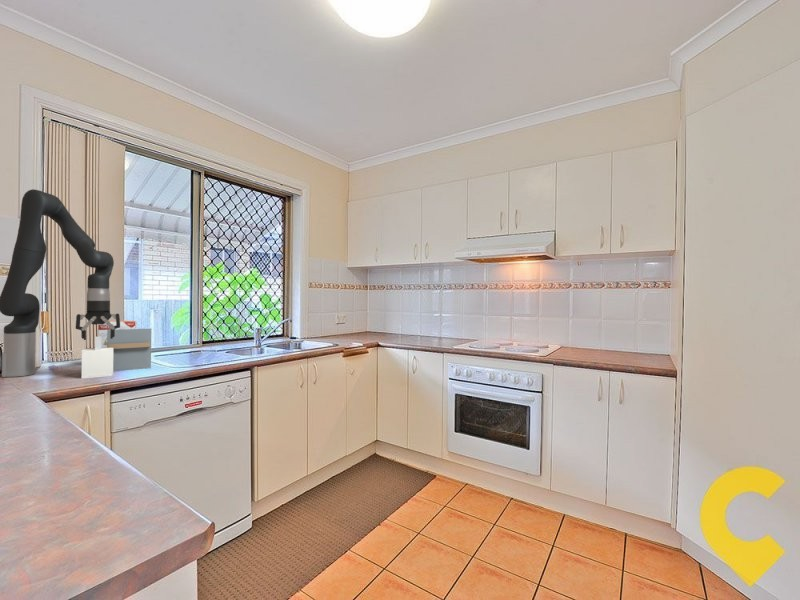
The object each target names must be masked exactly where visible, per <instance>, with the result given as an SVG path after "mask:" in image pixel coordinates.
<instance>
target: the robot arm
mask: <svg viewBox="0 0 800 600" xmlns="http://www.w3.org/2000/svg"><path fill="white" fill-rule="evenodd" d="M20 204H21V205H20V216H19V224H18V225H19V226H18V230H17V234H16V235H17V236H16V240H15V243H14V247H13V250H12V251H13V252H12V255H11V256H12V257H11V262H10V266H9V268H8V269H9V270H8V273H7V277H6V280H5V283H4V284H3V285H4V286H3V288H2V290H1V293H0V313H1V314H2V315H4V316H6V317H13V319H12V321H10V322H9V323H8V324H5V325H4V327H3V352H2V353H1V378H13V377H14V378H15V377H23V376H24V377H26V376H31V375H32V376H33V375H35V374H36V353H37V351H36V347H37V346H36V339H37V338H36V335H37V334H36V333H37V327H38V325H39V322H40V310H41V306H40V300H39V299H38V297H37V296H36V295H34V294H32V293H28V292H27V293H26V290H27V287H28V285H29V283H30V281H31V279H32V278H33V277H34V276H35V275H36V274H37V273H38V272H39V270H41V268H42V267H43V265H44V261H45V259H46V258H45V257H46V253H47V245H46V241H45V239H44V235H43V234H42V229H41V224H42V223H41V222H42V218H43V216H45V217H49V218H50V219H51V220H53V222H55V223H56V224H57V225H58V226H59V228H60V230H61V231H60V232H61V234H62V237H63V238H64V239H65V241H66V242H67V243H68V244H69V245H70V246H71V247H72V248H73V249H74V250H75V252H76V253H77V255H78V257H79V258H80V260H81V262H82V263H83V264H85V266H87V267H89V268H92V269H95V270H94V273H91V274H89V275H88V276H87V290H86V313H85V314H80V313H78V314H76V317H75V329H76V330H80V332H81V336H80V337H81V339H83V341H87V329H88V328H89V327H90V326H91V325H99V324H105V323H106V324H107V325H108V326H109V327H110V328H111V330H110V339H113V337H114V336H115V329H117V328H120V321H121V318H120V314H119V313H111V292H110V278H111V276H112V271H113V269H114V264H115V263H114V261H115V260H114V258H113V257H114V256H113V255H112V254H111V253H109V252H108V251H101V250H97V249H96V248H95V247H96V243H95V241H94V240H93V239H92V238H91V237H90V235H88V234H87V233H86V232H85V231H84V230H83V228H82V227H81V226H80V225H79V224H78V223H77V222H76V220H75V219H74V218H73V216H72V215H71V213H70V212H69V210H68V209H67V208H66V206H65V205H64V203H63V202H62V200H61V199H60V198H59V197H58V196H56V195H54V194H51V193H48V192H45V191H42V190H38V189H28V190H27V191H26V192H25V193H24V194H23V197H22V199H21V203H20ZM84 318H85V319H86V320H88V321H87V322H86V323H85V324H84V325H83V326H81V321H82V320H83V319H84ZM111 318H113V319H114V320H115V321H116V326H113V325H112V324H111V323H110V322H109V321H110V319H111Z"/></svg>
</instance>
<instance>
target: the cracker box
mask: <svg viewBox="0 0 800 600" xmlns="http://www.w3.org/2000/svg"><path fill="white" fill-rule="evenodd" d="M108 321H109V322H110V323H111V324H112V325H113V326H116V320H108ZM119 329H137V320H120V328H117V329H115V330H119ZM107 330H111V328H110V327H109V326H108V325H107V324H106V323H105V324H98V330H97V331H98V332H97V333H98V334H97V337H100V336H101V348H106V347H107Z"/></svg>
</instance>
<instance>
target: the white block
mask: <svg viewBox="0 0 800 600" xmlns="http://www.w3.org/2000/svg"><path fill="white" fill-rule="evenodd" d="M112 376H114V371H113V348H112V347H106V348H101V336H100V337H98V336H94V347H93V348H92V347H89V348H87V347H86V348H82V350H81V379H91V378H92V379H93V378H100V377H101V378H102V377H112Z"/></svg>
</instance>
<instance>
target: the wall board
mask: <svg viewBox="0 0 800 600" xmlns="http://www.w3.org/2000/svg"><path fill="white" fill-rule="evenodd" d="M107 347H112V348H113V372H119V371H129V370H131V371H132V370H140V369H141V370H143V368H145V369H151V368H152V328H136V329H119V330H115V336H114V337H113V339H110V330H107Z"/></svg>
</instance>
